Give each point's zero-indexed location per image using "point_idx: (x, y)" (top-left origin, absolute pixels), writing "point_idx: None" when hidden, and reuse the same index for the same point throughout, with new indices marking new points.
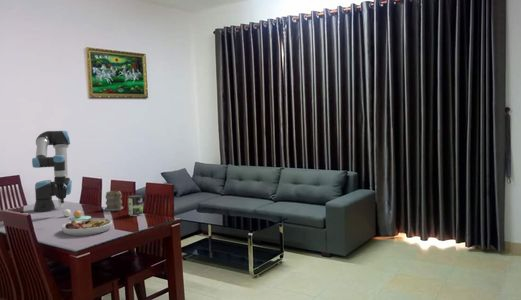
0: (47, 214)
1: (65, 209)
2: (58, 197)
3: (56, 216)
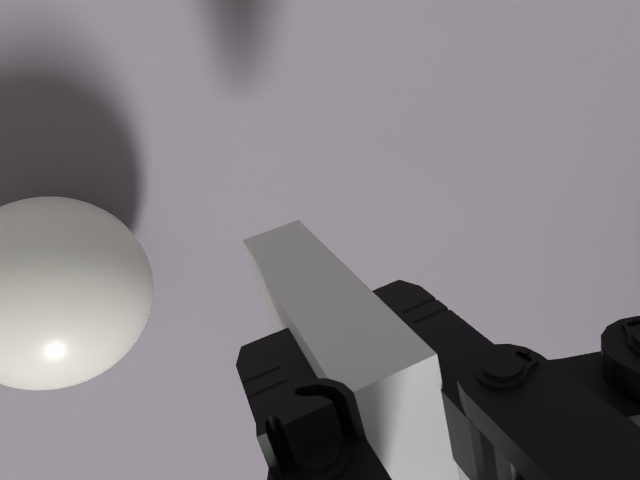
0: (546, 68)
1: (45, 306)
2: (522, 392)
3: (254, 107)
